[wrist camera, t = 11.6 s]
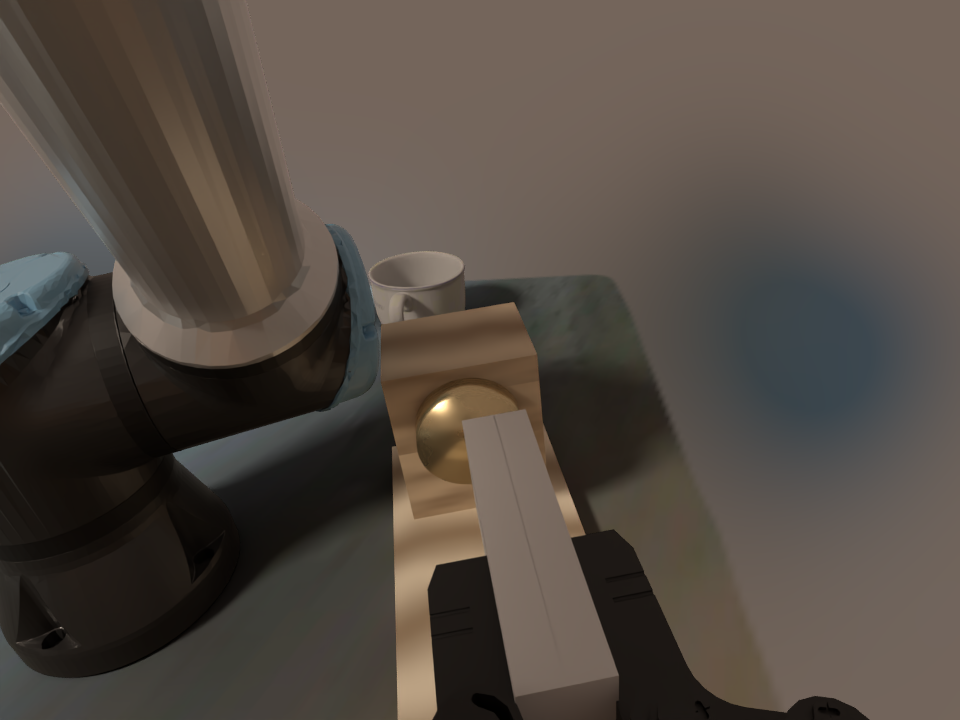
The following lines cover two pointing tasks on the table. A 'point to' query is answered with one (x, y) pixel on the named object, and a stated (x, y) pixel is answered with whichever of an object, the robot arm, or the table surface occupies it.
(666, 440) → the table surface
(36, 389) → the robot arm
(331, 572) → the table surface
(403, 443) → the bearing stand
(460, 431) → the shaft
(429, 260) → the teacup
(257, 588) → the table surface
